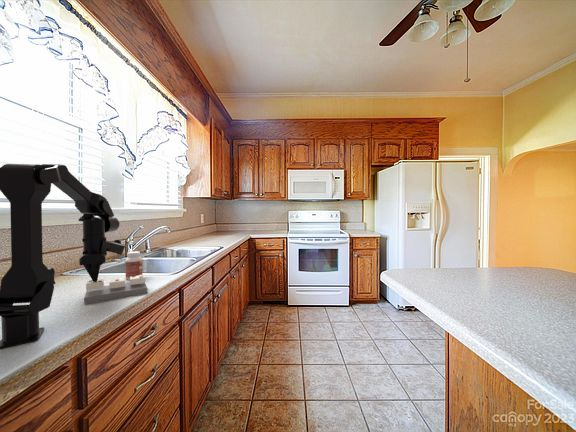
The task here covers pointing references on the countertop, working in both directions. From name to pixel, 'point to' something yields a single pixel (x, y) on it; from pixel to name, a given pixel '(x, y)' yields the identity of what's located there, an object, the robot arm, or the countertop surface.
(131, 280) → the two-dot button
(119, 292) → the button panel
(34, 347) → the countertop surface
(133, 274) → the pill bottle
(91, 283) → the three-dot button
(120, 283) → the one-dot button
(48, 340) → the countertop surface
